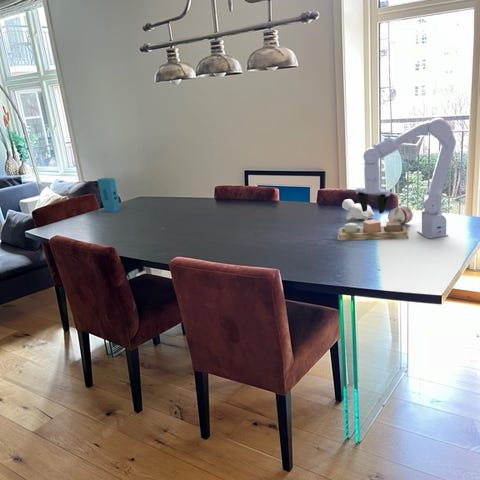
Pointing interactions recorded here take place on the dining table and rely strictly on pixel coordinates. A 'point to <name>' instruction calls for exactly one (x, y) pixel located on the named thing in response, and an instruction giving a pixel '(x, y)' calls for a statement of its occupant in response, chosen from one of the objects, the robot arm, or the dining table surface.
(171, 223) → the dining table surface
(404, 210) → the soda can
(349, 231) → the seated pieces
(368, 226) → the terracotta block
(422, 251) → the dining table surface
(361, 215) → the white figurine
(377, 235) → the oak tray
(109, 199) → the block
